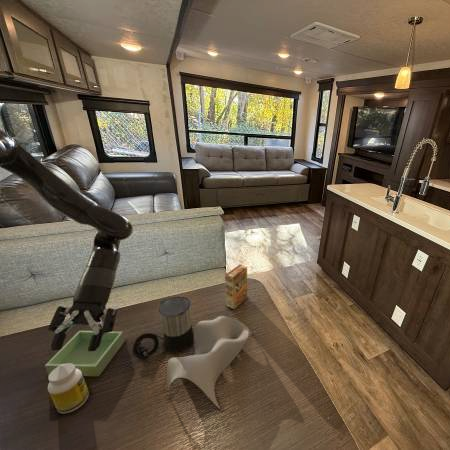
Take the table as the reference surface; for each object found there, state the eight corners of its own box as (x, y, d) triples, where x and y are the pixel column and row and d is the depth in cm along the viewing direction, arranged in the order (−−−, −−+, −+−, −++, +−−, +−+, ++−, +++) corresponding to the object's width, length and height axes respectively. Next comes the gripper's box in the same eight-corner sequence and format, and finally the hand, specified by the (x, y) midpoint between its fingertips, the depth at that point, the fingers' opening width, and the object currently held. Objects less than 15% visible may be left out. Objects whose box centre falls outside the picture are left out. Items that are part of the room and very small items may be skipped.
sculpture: (204, 325, 89) (203, 304, 85) (255, 335, 87) (255, 314, 83) (157, 394, 66) (152, 369, 63) (224, 410, 64) (223, 385, 60)
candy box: (234, 309, 98) (233, 277, 92) (225, 306, 99) (224, 274, 94) (247, 297, 105) (247, 266, 99) (239, 293, 107) (239, 263, 101)
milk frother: (200, 336, 85) (197, 302, 79) (159, 374, 71) (151, 336, 66) (171, 321, 90) (166, 287, 84) (127, 353, 77) (117, 317, 71)
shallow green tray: (48, 375, 68) (44, 365, 67) (82, 339, 80) (79, 330, 78) (98, 376, 69) (95, 366, 68) (125, 340, 81) (122, 331, 79)
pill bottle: (91, 402, 63) (80, 373, 59) (58, 420, 59) (43, 390, 55) (87, 384, 67) (77, 355, 63) (56, 400, 63) (43, 370, 59)
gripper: (57, 282, 64) (30, 351, 58) (114, 284, 65) (93, 352, 59) (78, 286, 71) (56, 348, 65) (130, 288, 72) (112, 349, 66)
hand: (74, 350), depth 62 cm, fingers open, 8 cm apart
